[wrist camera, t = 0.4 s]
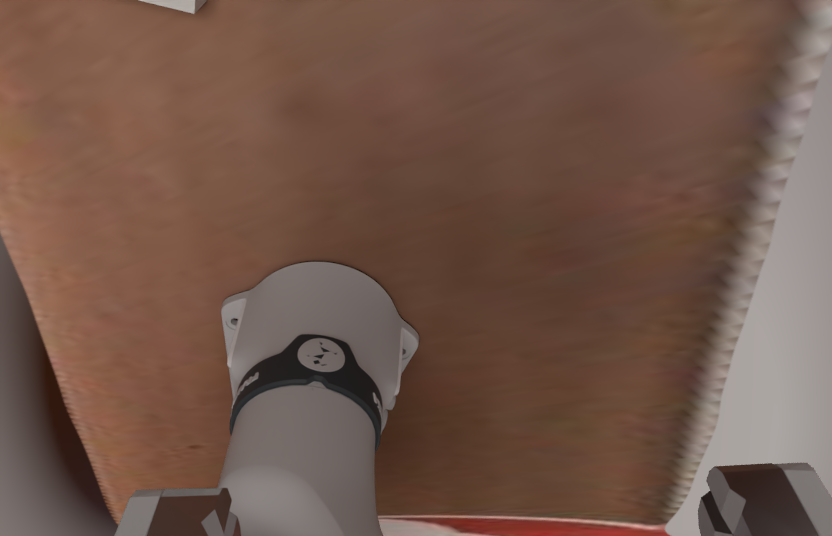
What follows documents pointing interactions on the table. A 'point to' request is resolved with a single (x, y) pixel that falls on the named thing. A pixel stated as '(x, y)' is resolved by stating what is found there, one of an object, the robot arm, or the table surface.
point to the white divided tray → (179, 4)
